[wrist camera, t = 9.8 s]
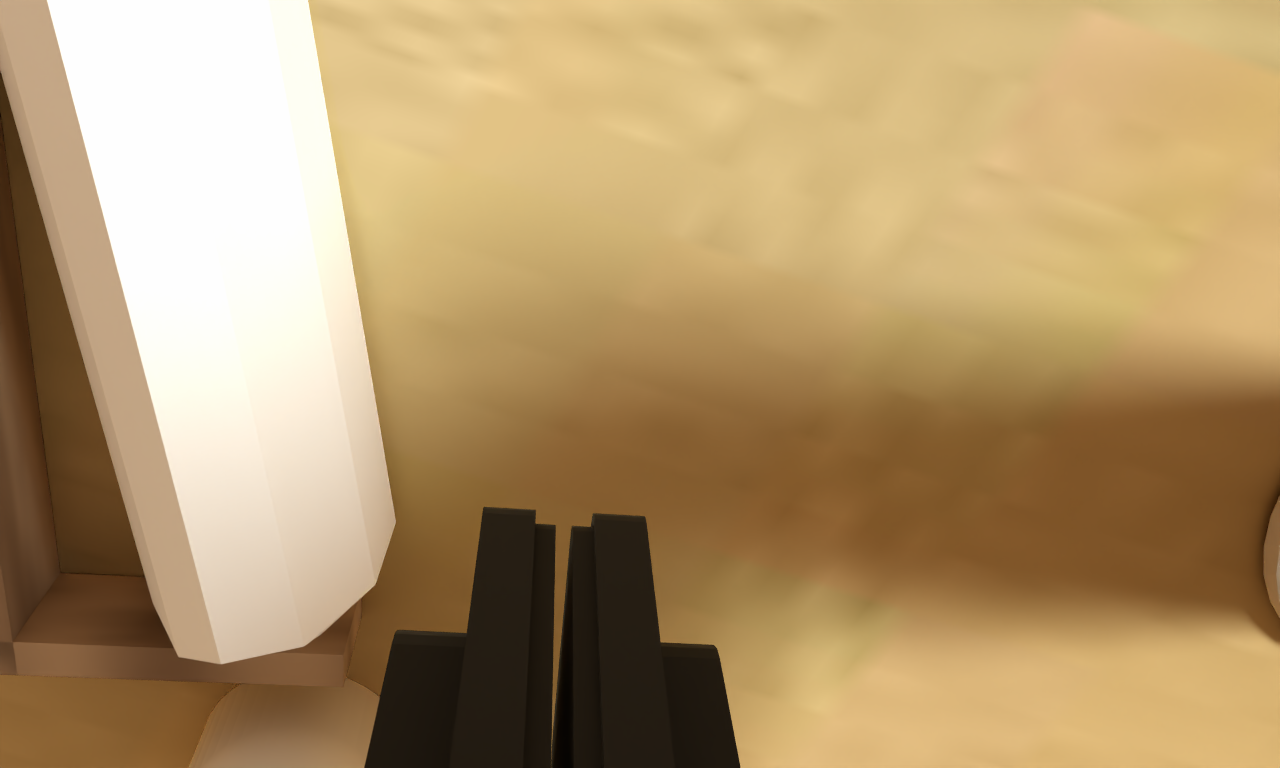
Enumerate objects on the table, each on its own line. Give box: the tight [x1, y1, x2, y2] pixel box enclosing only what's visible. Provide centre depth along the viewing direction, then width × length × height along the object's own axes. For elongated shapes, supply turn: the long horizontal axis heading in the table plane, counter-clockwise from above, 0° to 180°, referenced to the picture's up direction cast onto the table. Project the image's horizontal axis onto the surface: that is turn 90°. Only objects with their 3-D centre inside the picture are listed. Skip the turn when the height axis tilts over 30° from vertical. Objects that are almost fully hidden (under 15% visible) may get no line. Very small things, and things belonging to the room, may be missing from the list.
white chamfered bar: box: [0, 0, 396, 664], centre depth 30 cm, size 7×7×24 cm
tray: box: [0, 115, 362, 687], centre depth 29 cm, size 11×32×4 cm, turn 174°
